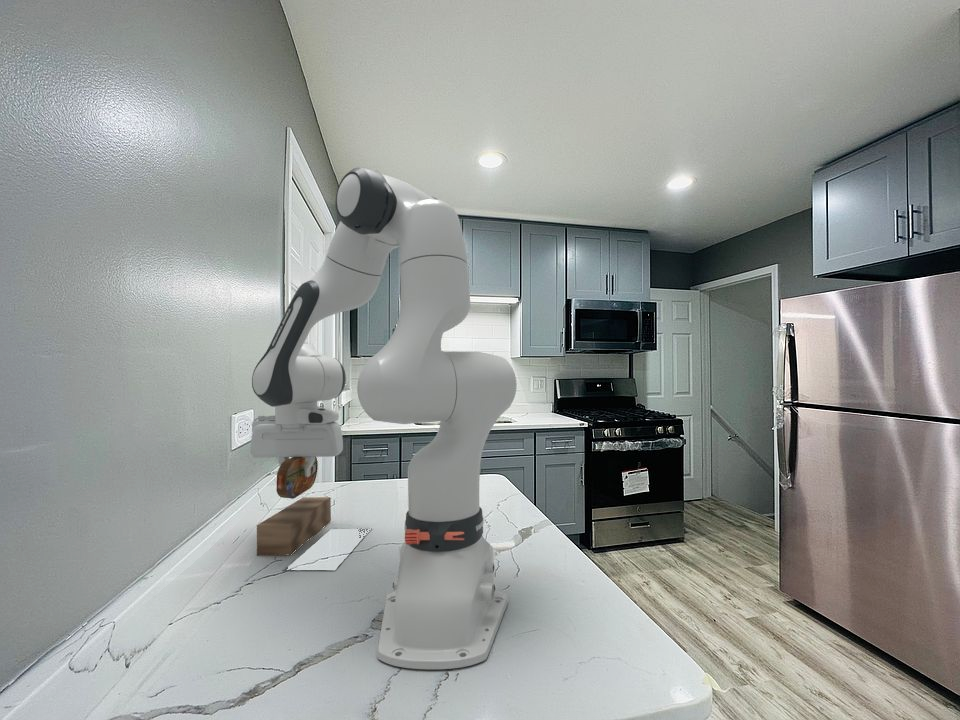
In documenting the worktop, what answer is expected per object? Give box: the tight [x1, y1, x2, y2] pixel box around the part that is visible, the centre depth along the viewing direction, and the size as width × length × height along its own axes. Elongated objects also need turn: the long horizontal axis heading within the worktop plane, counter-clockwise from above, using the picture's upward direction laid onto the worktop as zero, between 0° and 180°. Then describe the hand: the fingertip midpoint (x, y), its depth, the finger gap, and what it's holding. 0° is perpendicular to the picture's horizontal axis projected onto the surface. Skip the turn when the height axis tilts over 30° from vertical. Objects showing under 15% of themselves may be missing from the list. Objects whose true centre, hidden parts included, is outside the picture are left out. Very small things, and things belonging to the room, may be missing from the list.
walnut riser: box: [256, 496, 332, 556], centre depth 98 cm, size 20×7×6 cm, turn 176°
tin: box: [276, 457, 319, 500], centre depth 99 cm, size 15×3×8 cm, turn 176°
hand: (297, 476), depth 98 cm, fingers closed on tin, 2 cm apart
